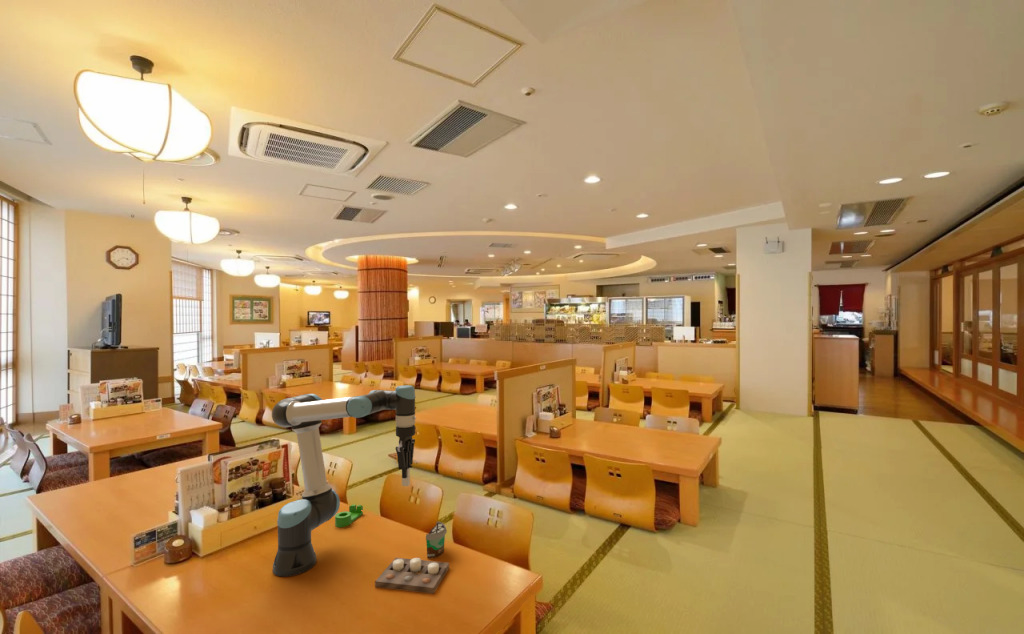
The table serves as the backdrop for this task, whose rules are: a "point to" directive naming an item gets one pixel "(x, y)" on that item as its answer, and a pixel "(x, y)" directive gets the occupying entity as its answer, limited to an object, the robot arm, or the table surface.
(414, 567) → the button mid
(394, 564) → the button left
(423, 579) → the board
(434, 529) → the food container
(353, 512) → the green ring bracket
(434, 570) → the button right
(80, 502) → the table surface
